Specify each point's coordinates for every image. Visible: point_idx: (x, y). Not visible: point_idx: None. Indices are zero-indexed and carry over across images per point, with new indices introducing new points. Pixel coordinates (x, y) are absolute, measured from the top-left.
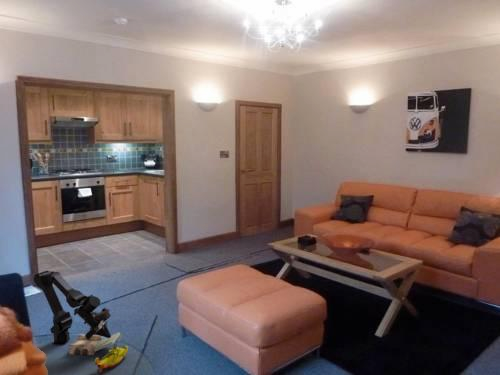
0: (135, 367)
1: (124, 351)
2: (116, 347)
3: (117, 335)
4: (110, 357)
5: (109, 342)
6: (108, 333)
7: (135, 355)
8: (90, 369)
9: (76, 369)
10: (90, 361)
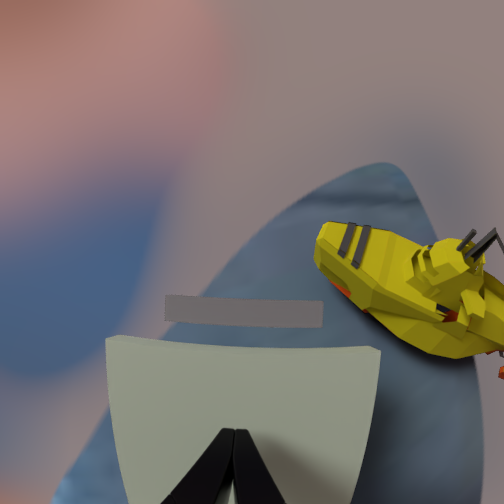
0: (402, 203)
1: (389, 234)
2: (460, 249)
3: (187, 348)
4: (497, 284)
5: (362, 394)
6: (235, 470)
7: (299, 226)
8: (476, 426)
9: (475, 495)
10: (407, 488)
